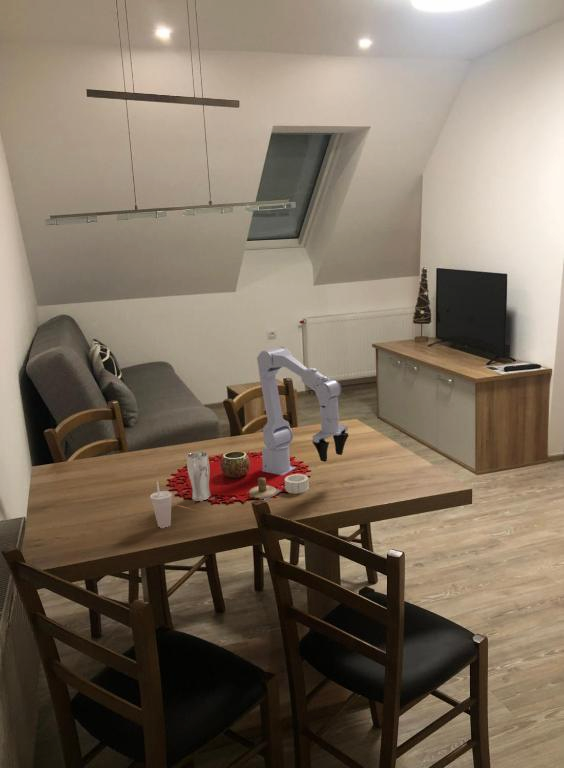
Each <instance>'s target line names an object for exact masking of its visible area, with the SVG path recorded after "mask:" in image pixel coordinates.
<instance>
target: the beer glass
mask: <svg viewBox="0 0 564 768" xmlns="http://www.w3.org/2000/svg"><path fill="white" fill-rule="evenodd" d="M186 460H187V461H186V465H187V466H186V467H187V474H188V477H189V481H190V484H191V489H192V496H191V499H193V500H194V502H198V501H200V502H204V501H203V500H206V499H208V498H209V497H210V496H211V497H212V495H211V491H210V486H209V484H210V470H211V469H210V460H209V455H208V453H207V452H205V451H192V452H191V453H188V454H187V455H186ZM193 500H192V501H193ZM208 500H209V499H208ZM206 501H207V500H206Z"/></svg>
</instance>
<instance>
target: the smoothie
mask: <svg viewBox="0 0 564 768" xmlns="http://www.w3.org/2000/svg"><path fill="white" fill-rule="evenodd" d="M156 489H157V491H156V492H153V493H152V494H150V496H149V497H150V498H149V500H150V502H151V503H152V507H153V511H154V516H155V519H156V523H157V527H158V528H159V527H160V529H166V528H165V527H167V528H169V527H171V525H172V498H173V493H172V492H171V491H169V490H160V485H159V480H157V481H156ZM168 526H169V527H168Z"/></svg>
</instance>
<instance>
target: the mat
mask: <svg viewBox="0 0 564 768" xmlns="http://www.w3.org/2000/svg"><path fill="white" fill-rule="evenodd" d="M275 489H276V488H275ZM280 492H283V490H281V489H278V488H277V489H276V493H275V494H274V495H273V496H274V497H275V496H276V495H277V494H279V493H280ZM273 496H271V497H267V498H260V499H264V500H263V501H264V502H266V501H267V500H269V499H271V498H272V497H273ZM260 499H259V500H260Z"/></svg>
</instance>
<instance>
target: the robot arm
mask: <svg viewBox="0 0 564 768" xmlns="http://www.w3.org/2000/svg"><path fill="white" fill-rule="evenodd" d="M256 360H257V367H258V375H259V380H260V385H261V392H262V397H263V403H264V406H265V407H264V408H265V413H266V414H265V415H266V418H267V419H266V420H267V422H266V424H265V425H264V426H263V428H262V432H263V435H262V440H263V441H262V442H263V445H264V447H263V448H262V452H261V453H262V454H261V458H262V459H261V460H262V461H261V462H262V469H261V472H265V473H269V474H275V475H279V476H284V475H286V474H288V473H290V472H292V471H294V470H296V467H295V466H291V460H290V459H291V458H290V446H291V442H292V441H293V439H294V433H293V430H292V429H291V426H290V423H289V421H288V420H285V419H284V416H283V410H282V405H281V399H280V395H279V393H280V392H279V389H278V388H279V387H278V384H277V383H278V382H277V378H276V377H277V376H276V374H278V372H279V370H281V368H286V369H288V371H291V372H292V373H294V374H295V375H297V376H299V377H300V378H301V382H302V383H303V384H304V385H305V386H307V387H309V388H310V389H311V390H313V391H314V392H315V395H316V397H317V400H318V404H319V408H320V411H319V412H320V426H321V427H320V428H321V429H320V430H319V432H317V433H315V434H314V435H312V444H313V446H314V448H315V449H316V450H317V453H318V456H319V459H320V461H322V462H324V463H326V462H327V461H328V448H329V444H330V442H329V441H326V439H328V438H331V437H333V441H334V449H335V454H336V455H338V456H339V455H340V456H342V455H343V453H344V448H345V444H346V441H347V440H348V437H349V433H348V425H346V424H340V422H339V419H340V418H339V417H340V416H339V401H338V400H339V397H338V396H340V395H341V393H342V386H341V384H340V382H339V381H338V380H337V379H336V378H328V377H327V376H326V375H323V374H322V373H321V372H319V371H318V369H317V368H316V367H309V368H307V366H305V365H304V364H303V363H301V362H300V361H299V360H298V359H297V358H295V356H293V355H292V352H291V350H290V349H288V348H287V347H285V346H279V347H276V348H272V349H271V348H270V349H268V350H262V351H260V353H259V354H258V356H257V357H256Z"/></svg>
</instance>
